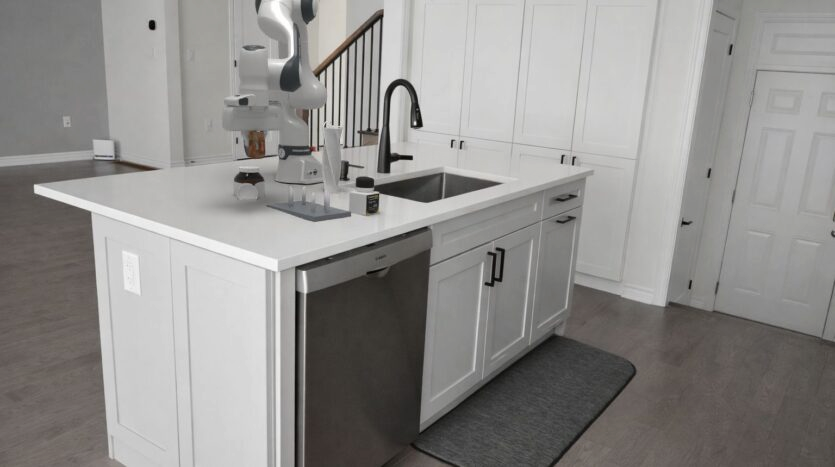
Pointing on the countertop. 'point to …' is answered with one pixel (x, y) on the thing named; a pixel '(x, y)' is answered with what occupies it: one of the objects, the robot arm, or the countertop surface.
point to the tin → (256, 145)
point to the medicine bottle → (364, 197)
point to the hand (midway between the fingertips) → (254, 145)
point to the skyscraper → (331, 158)
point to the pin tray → (310, 207)
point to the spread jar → (249, 183)
